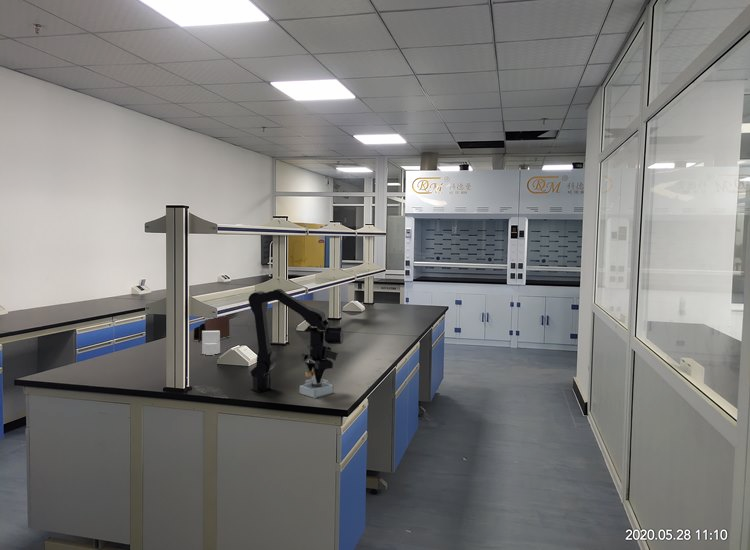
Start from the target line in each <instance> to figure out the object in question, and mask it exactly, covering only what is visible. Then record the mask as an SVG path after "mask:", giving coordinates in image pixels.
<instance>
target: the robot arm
mask: <svg viewBox="0 0 750 550" xmlns="http://www.w3.org/2000/svg"><path fill="white" fill-rule="evenodd" d="M247 299H248V304H249V307H250V310H251V311H252V314H253V315H254V316H253V317H254V323H255V332H256V339H257V347H258V352H257V356H256V366H255V367H254V368H252V370H251V371H250V375H251V377H252V387H250V388H249V389H250V390H251V391H255V392H257V393H263V392H266V391H270V390H273V387H271V385H272V384H271V381H272V378H271V372H272V369H273V368H275V367H276V364H277V363H276V362H278V359H277V357H276V356H277V351H273V350H272V349H271V344H270V336H269V335H270V334H269V330H268V329H269V328H268V320H267V310H268V304H269V302H270V301H275V300H276V301H278V302H279V303H281V304H283V305H284V306H286V307H288V308H289V309H291V310H292V311H294V312H295V313H297V314H298V315H300V316H301V318H302V319H304V321H305V322H306V323H307V324H309V325H307V327H306V328H305V329H304V333H305V332H307V333H309V344H307V349H309V350H308V351H309V352H303V353H302V354H301V355H300V361H302V362H304V365H305V366H306V368H307V370H308V371H312V369H313V372H314V375H315V379H316V382H317V383H320V381H321V378H323V375H324V372H325V370H329V369H333V368H334V363H333V361H336V360H337V358H338V352H337V351H336V350H335V351H334V350H332V348H331V347H330V346H327V345H325V343H326V344H329V345H330V344H331V345H343V344H344V343H343V342H344V339H345V337H344V332H343V331H344V330H343V327H342V326H331V324H330V323H329V321H328V320H327V319H326V318H327V317H326V314H325V313H324V312H323V310H320V309H317V308H314V307H311V306H308V305H306V304H305V303H303V302H301V301H300V300H298V299H296V298H295V297H293V296H292V295H290V294H289V293H288V292H286V291H284V289H282V288H277V289H273V290H271V291H270V290H269V291H266V292H265V291H262V290H260V291H256V292H253V293H251V294H250V295H249V296H248V298H247ZM330 359H331V360H330ZM332 360H333V361H332ZM305 361H306V362H305ZM308 371H307V372H308ZM311 377H312V376H310V378H311Z"/></svg>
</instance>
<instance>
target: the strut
mask: <svg viewBox="0 0 750 550" xmlns="http://www.w3.org/2000/svg"><path fill="white" fill-rule="evenodd" d="M304 373H305V377H307V378H309V377H311V376H312V383H311V387H314V388H318V387H321V386H322V383H321V381H320V383H317V382H316V379H315V375H314V372H313V369H312V371H305V372H304Z"/></svg>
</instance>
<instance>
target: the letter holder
mask: <svg viewBox="0 0 750 550" xmlns="http://www.w3.org/2000/svg"><path fill="white" fill-rule="evenodd" d="M217 317H218V318H214V317H213V318H214V319H211V318H208V319H206V320H205V321H204V322H203V323H201V324H200V325H198V326H196V327H195V328H193V341H194V340H198V341H202V331H220V338H223V337H227V336H230V337H231V334H230V331H231V330H230V317H229V316H228V315H227V316H225V315H224V316H217Z"/></svg>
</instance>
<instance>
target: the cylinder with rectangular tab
mask: <svg viewBox="0 0 750 550" xmlns="http://www.w3.org/2000/svg"><path fill="white" fill-rule="evenodd" d="M201 351H202V352H201V354H206V355H213V356H215V355H214V354H218V353H220V354H221V340H220V331H202V342H201Z"/></svg>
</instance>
